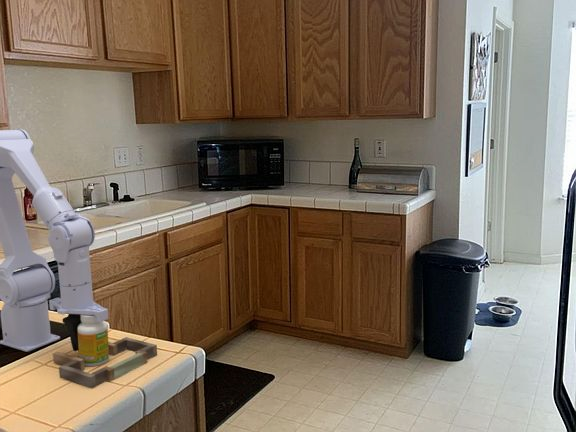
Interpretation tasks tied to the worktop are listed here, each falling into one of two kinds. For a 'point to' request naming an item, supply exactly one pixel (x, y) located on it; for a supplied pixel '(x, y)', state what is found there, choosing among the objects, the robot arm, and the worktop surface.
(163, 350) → the worktop surface
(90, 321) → the supplement bottle
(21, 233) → the robot arm
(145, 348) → the grey flat frame
